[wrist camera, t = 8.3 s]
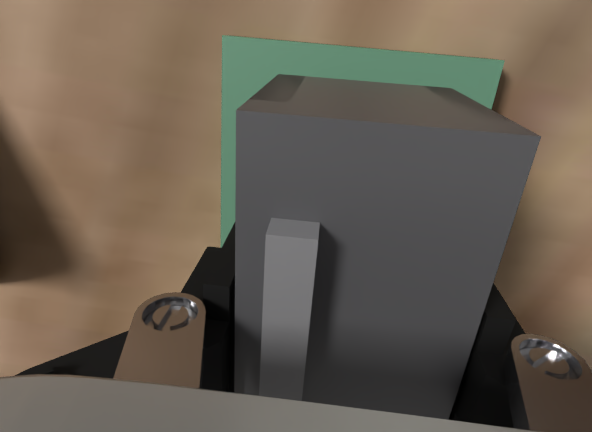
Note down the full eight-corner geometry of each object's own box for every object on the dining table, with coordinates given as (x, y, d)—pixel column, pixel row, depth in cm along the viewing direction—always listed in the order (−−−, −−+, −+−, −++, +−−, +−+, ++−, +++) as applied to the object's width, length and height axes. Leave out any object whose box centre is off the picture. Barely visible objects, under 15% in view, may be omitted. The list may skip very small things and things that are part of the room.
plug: (390, 366, 14) (419, 551, 9) (265, 351, 15) (228, 525, 10) (451, 88, 10) (562, 147, 5) (278, 74, 11) (226, 117, 6)
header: (420, 340, 19) (445, 426, 15) (225, 317, 19) (195, 394, 15) (493, 59, 14) (560, 68, 10) (229, 35, 14) (186, 34, 10)
